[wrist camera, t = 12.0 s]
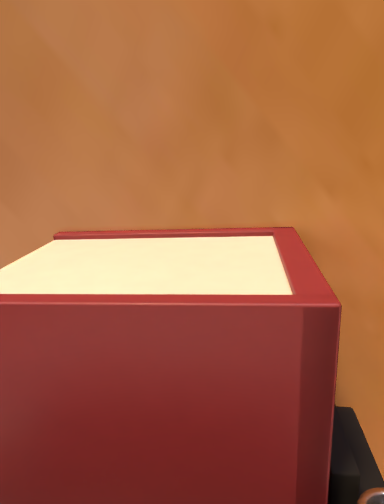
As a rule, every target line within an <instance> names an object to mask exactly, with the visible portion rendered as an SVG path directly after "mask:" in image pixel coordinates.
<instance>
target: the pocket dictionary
mask: <svg viewBox="0 0 384 504" xmlns="http://www.w3.org/2000/svg"><path fill="white" fill-rule="evenodd" d="M53 237H54V241H52V242H50V243H48V244H46V245H45V246H43V247H41V248H39V249H37V250H35V251H33V252H32V253H30V254H28V255H26V256H24V257H22V258H20V259H19V260H17V261H15V262H13V263H11V264H9V265H7V266H6V267H4V268H2V269H0V504H327V502H328V488H329V474H330V460H331V446H332V432H333V418H334V405H335V391H336V377H337V363H338V349H339V335H340V321H341V307H342V306H341V304H340V302H339V301H338V299H337V297H336V296H335V294H334V292H333V291H332V289H331V288H330V286H329V284H328V283H327V281H326V279H325V278H324V276H323V275H322V273H321V271H320V270H319V268H318V266H317V265H316V263H315V262H314V260H313V258H312V257H311V255H310V253H309V252H308V250H307V249H306V247H305V245H304V244H303V242H302V241H301V239H300V237H299V236H298V234H297V232H296V231H295V229H294V228H293V227H273V228H225V229H178V230H131V231H84V232H59V233H57V234H55V235H54V236H53Z"/></svg>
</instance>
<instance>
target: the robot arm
mask: <svg viewBox="0 0 384 504" xmlns="http://www.w3.org/2000/svg"><path fill="white" fill-rule="evenodd" d="M327 504H384V481H383V478H382V476H381V474H380V471H379V469H378V466H377V464H376V462H375V459H374V457H373V455H372V452H371V450H370V448H369V445H368V443H367V441H366V438H365V436H364V433H363V431H362V429H361V426H360V424H359V422H358V419H357V417H356V415H355V412H354V411H353V409H352V408H351V407H336V406H335V405H334V418H333V432H332V446H331V460H330V474H329V488H328V502H327Z"/></svg>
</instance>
